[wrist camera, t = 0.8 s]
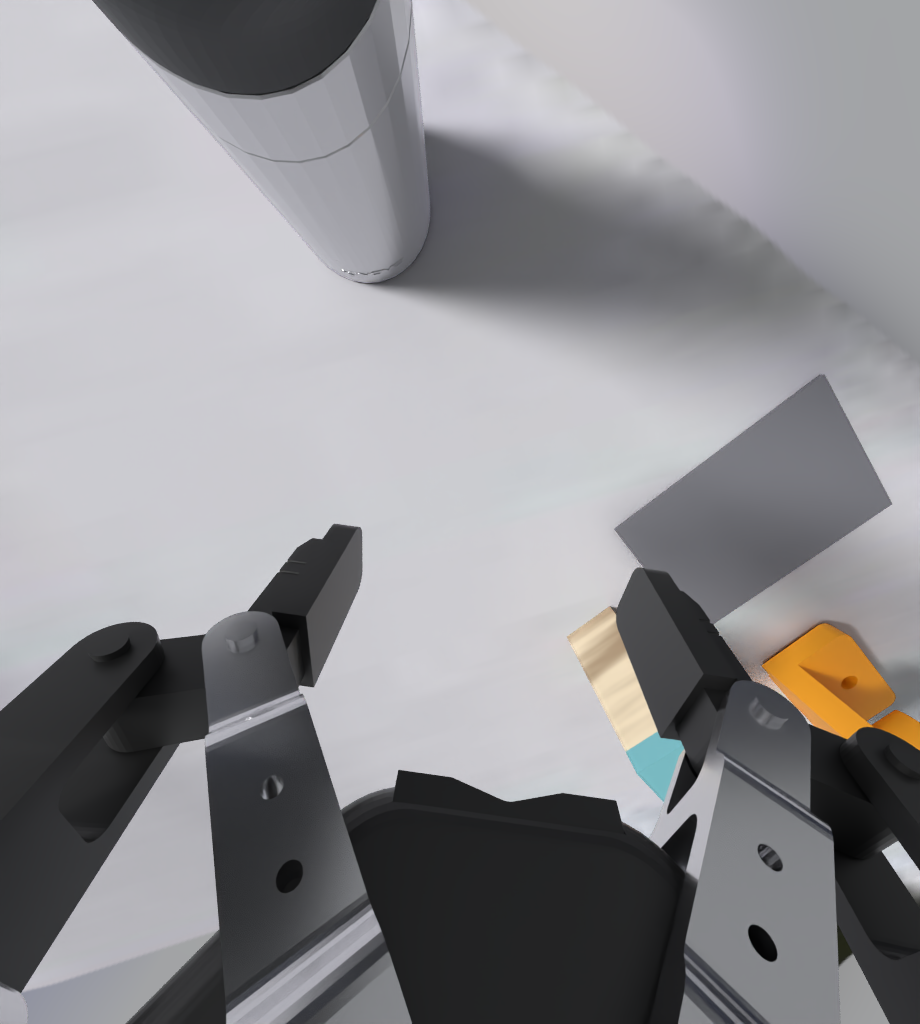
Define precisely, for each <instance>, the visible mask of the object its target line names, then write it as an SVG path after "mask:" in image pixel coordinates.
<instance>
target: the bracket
mask: <svg viewBox="0 0 920 1024" xmlns="http://www.w3.org/2000/svg"><path fill="white" fill-rule="evenodd" d="M762 667H763V668H764V669H765V670H766V672H767V673H768V674H769V677H770V678H771V679H772V680H773V681H774V683H775V684H776V685H777V686H778V687H779V688H780V689H781V691H782V692H783V693H784V694H785V695H786V696H787V697H788V699H789V700H790V701H791V702H792V703H793V704H794V705H795V707H796V708H797V709H799V710H800V711H801V712H802V713H803V714H804V715H805V716H806V717H807V719H808V720H809V721H810V722H811V723H812V724H813V725H814V726H815V727H818V728H820V729H823V730H825V731H828V732H830V733H833V734H835V735H838V736H840V737H843V738H845V739H848V738H850V737H851V736H852V735H853V734H854V733H855V732H856V731H857V730H858V729H860V728H862V727H873V728H877V729H881V730H884V731H886V732H889V733H891V734H893V735H895V736H897V737H899V738H901V739H903V740H904V741H906V742H908V743H909V744H911V745H912V746H914V747H915V748H917V749H918V750H920V723H919V722H918V721H916V720H915V719H913V718H912V717H910V716H908V715H906V714H905V713H903V712H900V711H898V710H894V711H893V712H891V713H889V714H888V715H886V716H885V717H883V718H882V719H880V720H879V721H877V722H875V723H874V724H872V725H870V724H869V723H868V722H867V720H869V719H870V718H872V717H873V716H875V715H876V714H878V713H880V712H881V711H883V710H884V709H886V708H887V707H889V706H890V705H892V704H893V702H894V701H895V698H896V696H895V693H894V692H893V691H892V690H891V688H890V687H889V686H888V684H887V683H886V682H885V680H884V679H883V678H882V677H881V675H880V674H879V673H878V671H877V670H876V669H875V667H874V666H873V665H872V663H871V662H870V661H869V660H868V658H867V657H866V656H865V654H864V653H863V652H862V650H861V649H860V648H859V646H858V645H857V644H856V643H855V641H854V640H853V639H852V637H851V636H849V635H847V634H845V633H844V632H842V631H840V630H838V629H837V628H835V627H833V626H831V625H830V624H827V623H824V624H820V625H818V626H816V627H815V628H814V629H812V630H811V631H809V632H808V633H807V634H805V635H804V636H802V637H801V638H800V639H798V640H797V641H795V642H794V643H793V644H791V645H790V646H788V647H787V648H785V649H784V650H783V651H781V652H780V653H778V654H777V655H776V656H774V657H773V658H771V659H770V660H769V661H767V662H766V663H764V664H763V665H762Z"/></svg>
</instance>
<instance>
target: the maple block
mask: <svg viewBox="0 0 920 1024" xmlns="http://www.w3.org/2000/svg"><path fill="white" fill-rule="evenodd" d="M567 638H568V640H569V642H570V644H571V646H572V648H573V650H574V652H575V654H576V656H577V658H578V660H579V662H580V664H581V665H582V667H583V669H584V671H585V673H586V675H587V677H588V679H589V681H590V683H591V685H592V687H593V689H594V691H595V693H596V695H597V697H598V699H599V701H600V703H601V705H602V706H603V708H604V710H605V712H606V714H607V716H608V718H609V720H610V722H611V724H612V726H613V728H614V730H615V732H616V734H617V736H618V738H619V740H620V742H621V744H622V746H623V747H624V749H625V751H626V753H627V755H628V757H629V759H630V761H631V763H632V765H633V767H634V769H635V771H636V773H637V774H638V775H639V776H640V777H641V779H642V780H643V781H644V782H645V783H646V784H647V785H648V786H649V787H650V788H651V789H652V790H653V791H654V792H655V793H656V795H657V796H658V797H659V798H660V799H661V800H662V801H663V802H664V800H665V797H666V794H667V791H668V788H669V785H670V782H671V779H672V776H673V773H674V770H675V767H676V764H677V761H678V758H679V756H680V754H681V753H682V751H683V750H684V747H683V745H682V742H681V741H680V740H673V739H666V738H660V736H659V733H658V731H657V728H656V725H655V723H654V720H653V718H652V715H651V713H650V710H649V708H648V705H647V702H646V700H645V697H644V695H643V692H642V690H641V687H640V685H639V682H638V679H637V677H636V674H635V672H634V669H633V667H632V664H631V662H630V659H629V656H628V654H627V651H626V649H625V646H624V644H623V641H622V639H621V636H620V634H619V631H618V628H617V624H616V613H615V612H614V611H613V610H612V609H611V607H608V608H607V609H605V610H604V611H603V612H601V613H600V614H598V615H597V616H596V617H594V618H593V619H591V620H590V621H589V622H587V623H586V624H584V625H583V626H582V627H580V628H579V629H577V630H576V631H574V632H573V633H572V634H570V635H569V636H567Z"/></svg>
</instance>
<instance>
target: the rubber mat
mask: <svg viewBox="0 0 920 1024" xmlns="http://www.w3.org/2000/svg"><path fill="white" fill-rule="evenodd" d="M890 505H892V503H891V501H890V499H889V497H888V495H887V493H886V491H885V489H884V487H883V485H882V484H881V482H880V480H879V478H878V476H877V474H876V472H875V470H874V468H873V466H872V464H871V463H870V461H869V459H868V457H867V455H866V453H865V451H864V449H863V447H862V445H861V443H860V442H859V440H858V438H857V436H856V434H855V432H854V430H853V428H852V426H851V424H850V422H849V421H848V419H847V417H846V415H845V413H844V411H843V409H842V407H841V405H840V403H839V401H838V400H837V398H836V396H835V394H834V392H833V390H832V388H831V386H830V384H829V382H828V380H827V379H826V377H825V375H819V376H818V377H816V378H815V379H814V380H812V381H811V382H810V383H808V384H807V385H806V386H804V387H803V388H802V389H800V390H799V391H798V392H796V393H795V394H794V395H792V396H791V397H790V398H788V399H787V400H786V401H784V402H783V403H782V404H780V405H779V406H778V407H776V408H775V409H774V410H772V411H771V412H770V413H768V414H767V415H766V416H764V417H763V418H762V419H760V420H759V421H758V422H756V423H755V424H754V425H752V426H751V427H750V428H748V429H747V430H746V431H744V432H743V433H742V434H740V435H739V436H738V437H736V438H735V439H734V440H732V441H731V442H730V443H728V444H727V445H726V446H724V447H723V448H722V449H720V450H719V451H718V452H716V453H715V454H714V455H712V456H711V457H710V458H708V459H707V460H706V461H704V462H703V463H702V464H700V465H699V466H698V467H696V468H695V469H694V470H692V471H691V472H690V473H688V474H687V475H686V476H684V477H683V478H682V479H680V480H679V481H678V482H676V483H675V484H674V485H672V486H671V487H670V488H668V489H667V490H666V491H664V492H663V493H662V494H660V495H659V496H658V497H656V498H655V499H654V500H652V501H651V502H650V503H648V504H647V505H646V506H644V507H643V508H642V509H640V510H639V511H638V512H636V513H635V514H634V515H632V516H631V517H630V518H628V519H627V520H626V521H624V522H623V523H622V524H620V525H619V526H618V527H616V528H615V531H616V532H617V533H618V535H619V536H620V537H621V539H622V540H623V541H624V542H625V544H626V545H627V546H628V548H629V549H630V550H631V552H632V553H633V554H634V555H635V557H636V558H637V559H638V561H639V562H640V563H641V565H642V566H643V567H644V568H646V569H653V570H660V571H666V572H667V573H669V575H670V576H671V578H672V579H673V581H674V582H675V584H676V585H677V587H678V588H679V590H680V591H684V592H685V593H686V594H687V595H688V596H690V597H691V598H692V599H693V600H694V601H695V602H697V603H698V604H699V605H700V606H701V608H702V609H703V611H704V612H705V613H706V615H707V616H708V618H709V619H710V623H712V624H714V623H716V622H717V621H719V620H720V619H722V618H723V617H725V616H726V615H728V614H729V613H731V612H732V611H734V610H735V609H737V608H738V607H739V606H741V605H742V604H744V603H745V602H747V601H748V600H750V599H751V598H753V597H754V596H756V595H757V594H759V593H760V592H762V591H763V590H765V589H766V588H768V587H769V586H771V585H772V584H774V583H775V582H777V581H778V580H780V579H781V578H783V577H784V576H786V575H787V574H789V573H790V572H792V571H793V570H795V569H796V568H798V567H799V566H801V565H802V564H804V563H805V562H807V561H808V560H810V559H811V558H813V557H814V556H816V555H817V554H819V553H820V552H822V551H823V550H824V549H826V548H827V547H829V546H830V545H832V544H833V543H835V542H836V541H838V540H839V539H841V538H842V537H844V536H845V535H847V534H848V533H850V532H851V531H853V530H854V529H856V528H857V527H859V526H860V525H862V524H863V523H865V522H866V521H868V520H869V519H871V518H872V517H874V516H875V515H877V514H878V513H880V512H881V511H883V510H884V509H886V508H887V507H889V506H890Z"/></svg>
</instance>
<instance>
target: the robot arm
mask: <svg viewBox="0 0 920 1024" xmlns="http://www.w3.org/2000/svg"><path fill="white" fill-rule="evenodd" d="M92 1H93V2H94V3H95V4H96V5H97V6H98V7H99V9H100V10H101V11H102V12H103V13H104V14H105V15H106V17H107V18H108V19H109V20H110V21H111V22H112V23H113V24H114V25H115V27H116V28H117V29H118V30H119V31H120V32H121V33H122V34H123V35H124V37H125V38H126V39H127V40H128V41H129V42H130V44H131V45H132V46H133V47H134V48H135V49H136V50H137V52H138V53H139V54H140V55H141V56H142V57H143V58H144V60H145V61H146V62H147V63H148V64H149V65H150V66H151V68H152V69H153V70H154V71H155V72H156V73H157V74H158V76H159V77H160V78H161V79H162V80H163V81H164V82H165V83H166V85H167V86H168V87H169V88H170V89H171V90H172V91H173V93H174V94H175V95H176V96H177V97H178V98H179V99H180V101H181V102H182V103H183V104H184V105H185V106H186V107H187V109H188V110H189V111H190V112H191V113H192V114H193V115H194V116H195V117H196V118H197V119H198V121H199V122H200V123H201V124H202V125H203V126H204V127H205V129H206V130H207V131H208V132H209V133H210V134H211V135H212V137H213V138H214V139H215V140H216V141H217V142H218V143H219V145H220V146H221V147H222V148H223V149H224V150H225V151H226V153H227V154H228V155H229V156H230V157H231V158H232V159H233V161H234V162H235V163H236V164H237V165H238V166H239V167H240V169H241V170H242V171H243V172H244V173H245V174H246V175H247V177H248V178H249V179H250V180H251V181H252V182H253V183H254V185H255V186H256V187H257V188H258V189H259V190H260V192H261V193H262V194H263V195H264V196H265V197H266V198H267V200H268V201H269V202H270V203H271V204H272V205H273V206H274V208H275V209H276V210H277V211H278V212H279V213H280V214H281V216H282V217H283V218H284V219H285V220H286V221H287V222H288V224H289V225H290V226H291V227H292V228H293V229H294V230H295V232H296V233H297V234H298V235H299V236H300V237H301V239H302V240H303V241H304V242H305V243H306V244H307V245H308V247H309V248H310V249H311V250H312V251H313V252H314V253H315V255H316V256H317V257H318V258H319V259H320V260H321V261H322V262H323V263H324V264H325V265H326V266H327V267H328V268H330V269H331V270H333V271H334V272H336V273H337V274H338V275H340V276H342V277H345V278H347V279H350V280H352V281H357V282H363V283H373V282H381V281H385V280H388V279H391V278H393V277H395V276H396V275H398V274H400V273H401V272H403V271H404V270H405V269H406V268H407V267H408V266H409V265H410V264H411V263H412V262H413V261H414V260H415V259H416V257H417V255H418V254H419V252H420V251H421V249H422V247H423V244H424V242H425V239H426V237H427V234H428V228H429V223H430V196H429V184H428V171H427V159H426V149H425V138H424V127H423V116H422V105H421V94H420V83H419V72H418V61H417V50H416V40H415V29H414V18H413V7H412V0H92ZM361 577H362V530H361V528H360V527H354V526H347V525H340V524H333V525H332V527H331V528H330V529H329V531H328V532H327V534H326V535H325V536H324V538H323V539H315V538H312V539H311V540H309V541H307V542H306V543H304V544H302V545H301V546H299V547H297V549H296V550H295V551H294V552H293V554H292V555H291V556H290V558H289V559H288V562H286V563H285V564H284V565H283V567H282V568H281V569H280V572H279V573H277V574H276V575H275V577H274V578H273V579H272V581H271V582H270V583H269V584H268V586H267V587H266V588H265V590H264V591H263V592H262V593H261V595H260V596H259V597H258V598H257V600H256V601H255V602H254V604H253V605H252V606H251V607H250V609H249V610H248V611H247V612H242V613H237V614H234V615H232V616H229V617H227V618H225V619H223V620H221V621H220V622H218V623H217V624H216V625H214V626H213V627H212V628H211V629H210V630H209V631H208V632H207V634H204V635H198V636H189V637H181V638H172V639H163V640H160V639H159V637H158V634H157V632H156V630H155V629H154V627H152V626H151V625H149V624H146V623H141V622H127V623H121V624H116V625H112V626H109V627H106V628H103V629H101V630H99V631H96V632H94V633H92V634H90V635H89V636H87V637H85V638H84V639H82V640H81V641H79V642H78V643H77V644H75V645H74V646H73V647H72V648H71V649H70V650H68V651H67V652H66V653H65V654H64V655H63V656H62V657H61V658H59V659H58V660H57V661H56V662H55V663H54V664H53V665H52V666H50V667H49V668H48V669H47V670H46V671H45V672H44V673H43V674H41V675H40V676H39V677H38V678H37V679H36V680H35V681H34V682H33V683H31V684H30V685H29V686H28V687H27V688H26V689H25V690H24V691H22V692H21V693H20V694H19V695H18V696H17V697H16V698H15V699H13V700H12V701H11V702H10V703H9V704H8V705H7V706H6V707H4V708H3V709H2V710H1V711H0V1024H27V1020H28V1013H27V1012H28V1011H27V1005H26V1002H25V999H24V998H23V996H22V995H21V994H20V993H21V992H22V990H23V989H24V987H25V986H26V984H27V983H28V981H29V979H30V978H31V976H32V975H33V973H34V972H35V970H36V968H37V967H38V965H39V964H40V962H41V961H42V959H43V957H44V956H45V954H46V953H47V951H48V950H49V948H50V946H51V945H52V943H53V942H54V940H55V939H56V937H57V935H58V934H59V932H60V931H61V929H62V928H63V926H64V924H65V923H66V921H67V920H68V918H69V917H70V915H71V913H72V912H73V910H74V909H75V907H76V906H77V904H78V902H79V901H80V899H81V898H82V896H83V895H84V893H85V891H86V890H87V888H88V887H89V885H90V884H91V882H92V881H93V879H94V877H95V876H96V874H97V873H98V871H99V870H100V868H101V866H102V865H103V863H104V862H105V860H106V859H107V857H108V855H109V854H110V852H111V851H112V849H113V848H114V846H115V844H116V843H117V841H118V840H119V838H120V837H121V835H122V833H123V832H124V830H125V829H126V827H127V826H128V824H129V822H130V821H131V819H132V818H133V816H134V815H135V813H136V811H137V810H138V808H139V807H140V805H141V804H142V802H143V800H144V799H145V797H146V796H147V794H148V793H149V791H150V790H151V788H152V786H153V785H154V783H155V782H156V780H157V779H158V777H159V775H160V774H161V772H162V771H163V769H164V768H165V766H166V764H167V763H168V761H169V760H170V758H171V757H172V755H173V753H174V752H175V750H176V749H177V747H178V746H179V744H180V743H183V742H188V741H194V740H199V739H205V756H206V768H207V781H208V793H209V805H210V817H211V830H212V842H213V854H214V866H215V879H216V891H217V903H218V916H219V928H220V929H219V930H218V931H217V932H216V933H215V934H214V935H213V936H212V938H210V939H209V940H208V942H207V943H205V944H204V945H203V946H202V947H201V949H199V951H197V953H196V954H195V955H194V956H193V957H192V958H191V959H190V960H189V961H188V962H187V963H186V964H185V965H184V966H183V967H182V968H181V969H180V970H179V971H178V972H177V973H176V974H175V975H174V976H173V977H172V978H171V979H170V980H169V981H168V982H167V983H166V984H165V985H164V986H163V987H162V988H161V989H160V990H159V991H158V992H157V993H156V994H155V995H154V996H153V997H152V998H151V999H150V1000H149V1001H148V1002H147V1003H146V1004H145V1005H144V1006H143V1007H142V1008H141V1009H140V1010H139V1011H138V1012H137V1013H136V1014H135V1015H134V1016H133V1017H132V1018H131V1019H130V1020H129V1021H128V1022H127V1023H126V1024H840V999H839V973H838V946H837V923H838V925H839V927H840V929H841V931H842V933H843V935H844V937H845V939H846V941H847V942H848V944H849V946H850V948H851V950H852V952H853V954H854V956H855V958H856V960H857V962H858V964H859V966H860V967H861V969H862V971H863V973H864V975H865V977H866V979H867V981H868V983H869V985H870V987H871V989H872V990H873V992H874V994H875V996H876V998H877V1000H878V1002H879V1004H880V1006H881V1008H882V1009H883V1011H884V1013H885V1015H886V1017H887V1019H888V1021H889V1023H890V1024H920V908H919V906H918V905H917V903H916V902H915V900H914V899H913V897H912V896H911V894H910V893H909V891H908V890H907V888H906V887H905V885H904V884H903V882H902V881H901V879H900V878H899V876H898V875H897V874H896V872H895V871H894V869H893V868H892V866H891V865H890V863H889V862H888V860H887V859H886V857H885V856H884V854H883V853H882V850H884V849H885V848H887V847H889V846H890V845H892V844H893V843H895V842H897V841H899V842H900V843H901V845H902V846H903V848H904V849H905V850H906V852H907V853H908V855H909V856H910V857H911V859H912V860H913V862H914V863H915V864H916V866H917V867H918V869H919V870H920V750H918V749H917V748H915V747H914V746H912V745H911V744H909V743H908V742H906V741H904V740H903V739H901V738H899V737H897V736H895V735H893V734H891V733H889V732H886V731H884V730H881V729H877V728H873V727H862V728H860V729H858V730H857V731H856V732H855V733H854V734H853V735H852V736H851V737H850V738H848V739H845V738H843V737H840V736H838V735H835V734H833V733H830V732H828V731H825V730H823V729H820V728H818V727H815V726H812V725H810V724H808V723H807V721H806V719H805V718H804V716H803V715H802V714H801V713H800V711H799V710H798V709H797V708H796V707H795V706H794V705H793V704H792V703H791V702H790V701H788V700H787V699H786V698H785V697H783V696H782V695H780V694H779V693H778V692H776V691H774V690H773V689H771V688H769V687H767V686H765V685H762V684H760V683H757V682H753V681H752V680H751V678H750V677H749V676H748V674H747V673H746V671H745V670H744V668H743V667H742V665H741V664H740V663H739V661H738V660H737V658H736V657H735V655H734V654H733V652H732V651H731V650H730V648H729V647H728V645H727V644H726V642H725V641H724V639H723V638H722V637H721V636H719V632H718V631H717V629H716V628H715V626H714V625H713V624H712V623H710V619H709V618H708V616H707V615H706V613H705V612H704V611H703V609H702V608H701V606H700V605H699V604H698V603H697V602H695V601H694V600H693V599H692V598H691V597H690V596H688V595H687V594H686V593H685V592H684V591H680V590H679V588H678V587H677V585H676V584H675V582H674V581H673V579H672V578H671V576H670V575H669V573H667V572H666V571H660V570H653V569H646V568H637V569H635V570H634V572H633V574H632V576H631V578H630V580H629V582H628V585H627V587H626V589H625V591H624V594H623V596H622V598H621V600H620V603H619V605H618V608H617V612H616V624H617V628H618V631H619V634H620V636H621V639H622V641H623V644H624V646H625V649H626V651H627V654H628V656H629V659H630V662H631V664H632V667H633V669H634V672H635V674H636V677H637V679H638V682H639V685H640V687H641V690H642V692H643V695H644V697H645V700H646V702H647V705H648V708H649V710H650V713H651V715H652V718H653V720H654V723H655V725H656V728H657V731H658V733H659V736H660V738H666V739H673V740H680V741H681V742H682V745H683V747H684V750H683V751H682V753H681V754H680V756H679V758H678V761H677V764H676V767H675V770H674V773H673V776H672V779H671V782H670V785H669V788H668V791H667V794H666V797H665V800H664V803H663V806H662V809H661V812H660V815H659V818H658V821H657V823H656V825H655V828H654V830H653V832H652V833H651V835H650V837H649V838H647V837H646V836H645V835H643V834H642V833H641V832H639V831H637V830H635V829H634V828H632V827H630V826H629V825H627V824H625V823H623V822H621V818H620V814H619V810H618V806H617V802H616V801H615V800H608V799H601V798H593V797H586V796H579V795H572V794H565V793H561V794H555V795H549V796H543V797H538V798H532V799H526V800H521V801H515V802H507V801H503V800H501V799H499V798H496V797H494V796H492V795H490V794H487V793H485V792H483V791H481V790H479V789H476V788H474V787H472V786H470V785H467V784H465V783H463V782H461V781H459V780H456V779H454V778H452V777H445V776H438V775H431V774H424V773H416V772H409V771H402V770H398V775H397V780H396V785H395V787H393V788H388V789H383V790H380V791H377V792H373V793H370V794H368V795H366V796H364V797H362V798H360V799H357V800H356V801H354V802H352V803H351V804H349V805H348V806H346V807H344V808H343V809H342V810H340V807H339V803H338V800H337V797H336V794H335V791H334V788H333V784H332V781H331V778H330V775H329V772H328V769H327V766H326V762H325V759H324V756H323V753H322V750H321V747H320V744H319V740H318V737H317V734H316V731H315V728H314V725H313V721H312V718H311V715H310V712H309V709H308V706H307V703H306V700H305V698H304V695H303V694H300V692H299V689H298V687H299V685H301V686H308V687H314V686H315V684H316V682H317V679H318V677H319V675H320V673H321V671H322V668H323V666H324V664H325V662H326V660H327V657H328V655H329V653H330V651H331V649H332V646H333V644H334V642H335V640H336V638H337V636H338V633H339V631H340V629H341V627H342V625H343V622H344V620H345V618H346V616H347V614H348V611H349V609H350V607H351V605H352V603H353V600H354V598H355V596H356V594H357V592H358V589H359V586H360V582H361Z"/></svg>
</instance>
